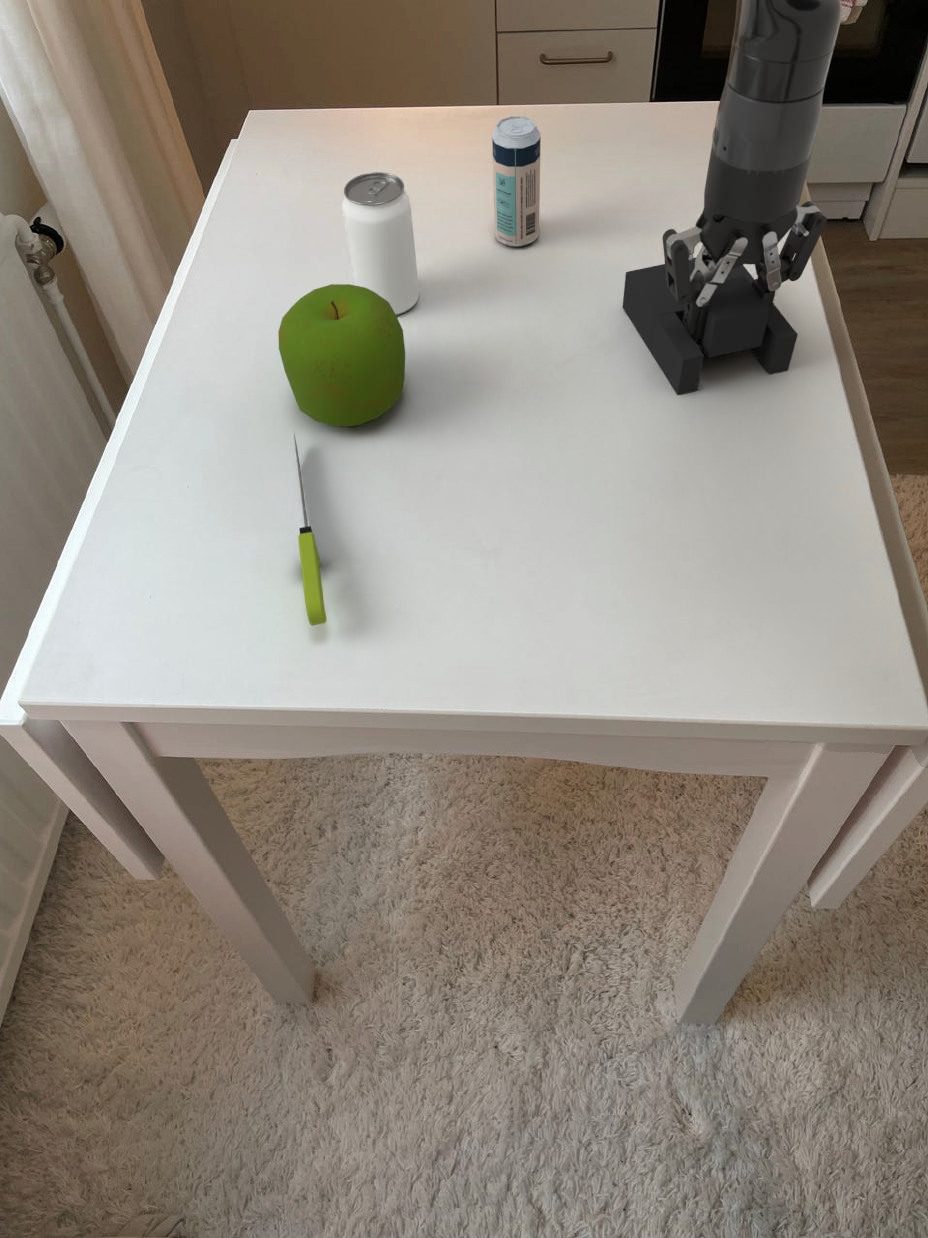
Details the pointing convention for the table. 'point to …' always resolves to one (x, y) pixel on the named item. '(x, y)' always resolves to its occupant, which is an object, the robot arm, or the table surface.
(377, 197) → the can
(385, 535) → the table surface
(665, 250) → the robot arm
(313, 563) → the kitchen knife
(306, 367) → the apple
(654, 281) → the black flat forked piece
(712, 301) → the black block
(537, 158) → the beer can
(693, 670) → the table surface
